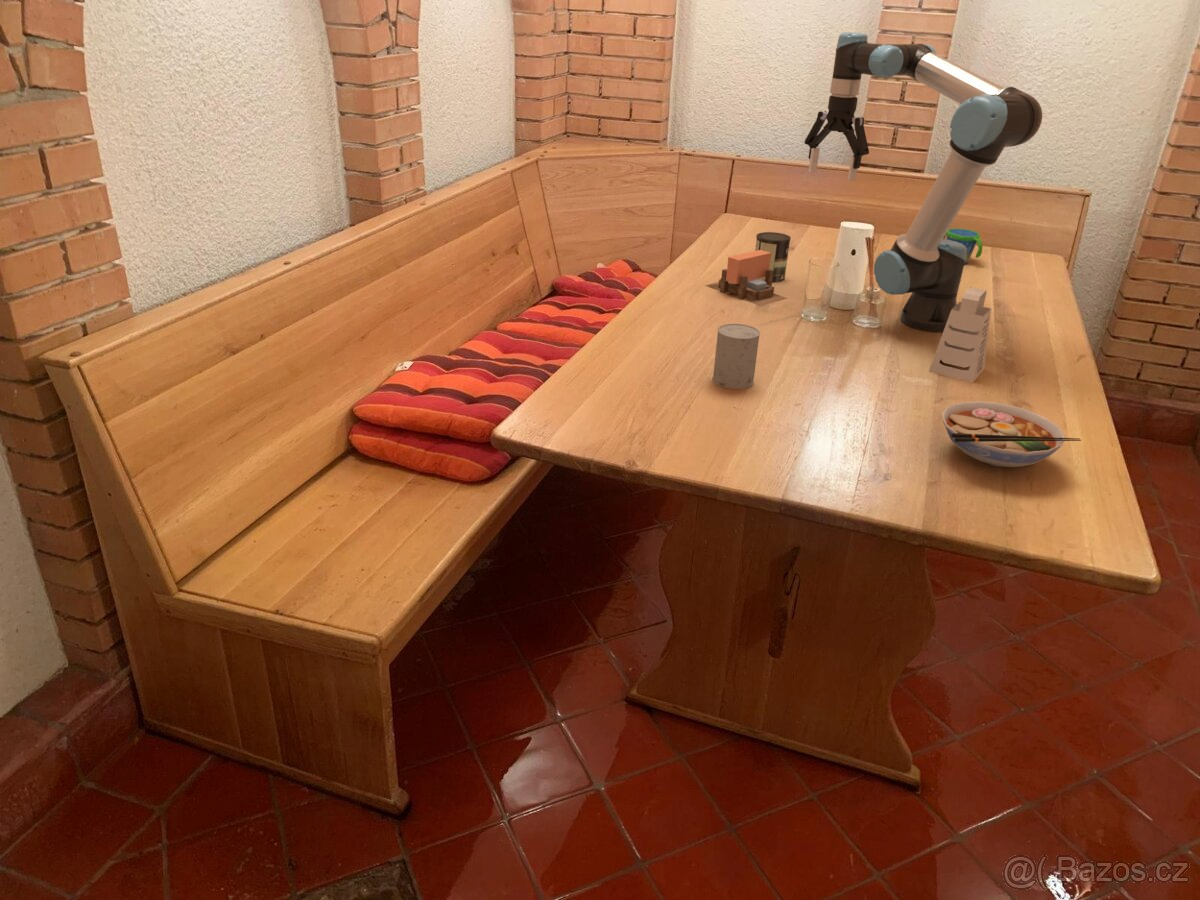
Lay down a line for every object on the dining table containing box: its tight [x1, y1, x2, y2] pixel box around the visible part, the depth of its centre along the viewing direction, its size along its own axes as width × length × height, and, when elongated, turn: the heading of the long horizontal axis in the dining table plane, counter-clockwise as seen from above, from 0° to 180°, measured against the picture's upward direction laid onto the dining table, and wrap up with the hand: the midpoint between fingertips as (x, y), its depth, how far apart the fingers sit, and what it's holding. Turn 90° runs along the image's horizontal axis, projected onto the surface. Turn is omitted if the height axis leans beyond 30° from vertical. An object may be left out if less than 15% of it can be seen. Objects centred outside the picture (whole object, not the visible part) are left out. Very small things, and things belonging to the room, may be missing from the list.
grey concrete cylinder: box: [712, 323, 761, 390], centre depth 209 cm, size 10×10×12 cm
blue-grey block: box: [747, 279, 767, 291], centre depth 267 cm, size 12×4×4 cm, turn 39°
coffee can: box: [754, 231, 792, 283], centre depth 279 cm, size 10×10×14 cm
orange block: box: [726, 250, 771, 284], centre depth 264 cm, size 4×14×7 cm, turn 130°
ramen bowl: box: [941, 400, 1082, 468], centre depth 180 cm, size 25×23×8 cm
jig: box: [704, 268, 788, 306], centre depth 267 cm, size 22×13×8 cm, turn 39°
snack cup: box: [943, 228, 983, 265], centre depth 308 cm, size 16×10×10 cm
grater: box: [928, 287, 992, 383], centre depth 218 cm, size 10×10×20 cm
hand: (831, 176), depth 255 cm, fingers open, 13 cm apart
